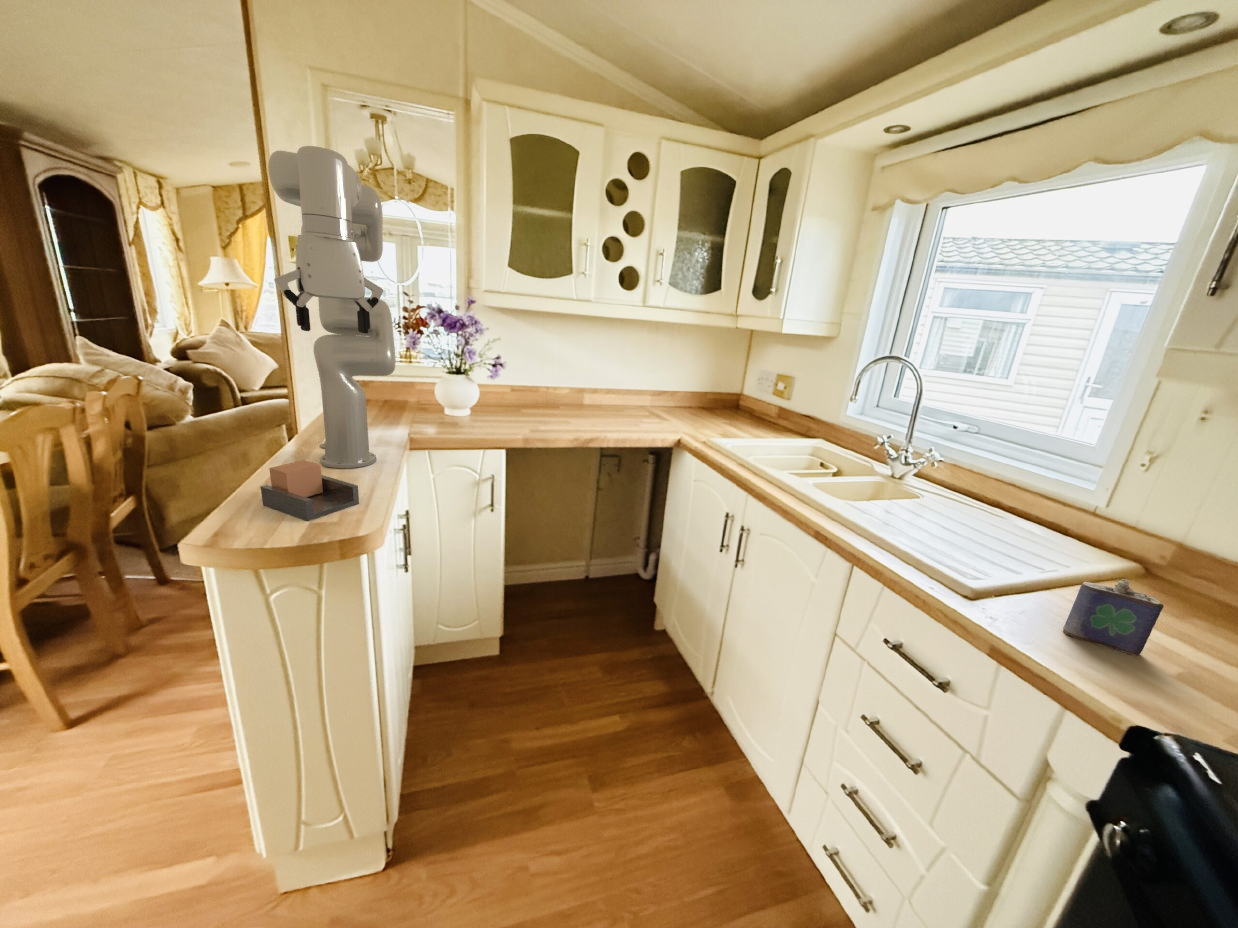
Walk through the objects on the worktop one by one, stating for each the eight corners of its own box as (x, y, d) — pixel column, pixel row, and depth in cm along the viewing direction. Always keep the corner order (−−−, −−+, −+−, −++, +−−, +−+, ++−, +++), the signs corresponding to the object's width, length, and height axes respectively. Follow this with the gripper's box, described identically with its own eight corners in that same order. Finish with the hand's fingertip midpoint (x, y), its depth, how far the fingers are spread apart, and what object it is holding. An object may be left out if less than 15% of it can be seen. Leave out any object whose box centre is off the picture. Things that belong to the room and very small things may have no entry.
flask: (1064, 635, 78) (1088, 574, 75) (1059, 626, 80) (1083, 567, 77) (1143, 659, 73) (1173, 595, 70) (1136, 648, 76) (1164, 587, 73)
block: (272, 496, 98) (269, 467, 97) (306, 487, 105) (304, 460, 103) (289, 502, 96) (286, 473, 95) (322, 492, 103) (320, 464, 101)
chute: (262, 505, 97) (260, 486, 96) (316, 490, 107) (314, 472, 106) (307, 521, 92) (305, 501, 91) (359, 503, 102) (357, 485, 101)
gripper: (371, 240, 94) (376, 332, 99) (263, 222, 82) (274, 328, 87) (387, 238, 90) (391, 335, 94) (275, 219, 77) (286, 331, 82)
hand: (335, 331), depth 91 cm, fingers open, 9 cm apart
